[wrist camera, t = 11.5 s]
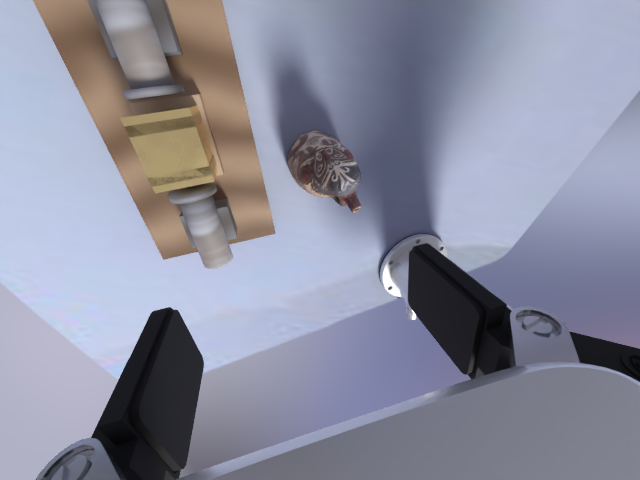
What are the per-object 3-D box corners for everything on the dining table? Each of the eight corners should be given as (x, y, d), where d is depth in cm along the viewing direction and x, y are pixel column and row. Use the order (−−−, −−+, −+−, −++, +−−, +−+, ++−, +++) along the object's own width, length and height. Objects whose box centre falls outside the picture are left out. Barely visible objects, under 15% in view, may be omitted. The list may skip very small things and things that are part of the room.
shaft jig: (274, 228, 37) (282, 258, 30) (166, 253, 34) (149, 292, 27) (214, -31, 23) (205, -81, 17) (32, -21, 21) (-64, -75, 14)
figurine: (334, 122, 32) (379, 135, 22) (347, 176, 36) (391, 208, 26) (279, 142, 32) (299, 165, 22) (298, 195, 35) (323, 236, 25)
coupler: (139, 113, 24) (119, 118, 20) (197, 105, 25) (190, 107, 21) (167, 178, 27) (154, 193, 23) (218, 168, 28) (215, 181, 24)
